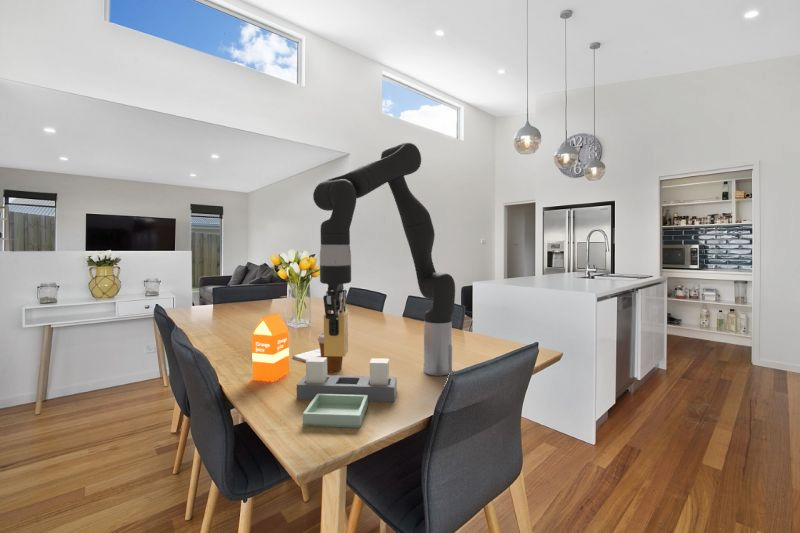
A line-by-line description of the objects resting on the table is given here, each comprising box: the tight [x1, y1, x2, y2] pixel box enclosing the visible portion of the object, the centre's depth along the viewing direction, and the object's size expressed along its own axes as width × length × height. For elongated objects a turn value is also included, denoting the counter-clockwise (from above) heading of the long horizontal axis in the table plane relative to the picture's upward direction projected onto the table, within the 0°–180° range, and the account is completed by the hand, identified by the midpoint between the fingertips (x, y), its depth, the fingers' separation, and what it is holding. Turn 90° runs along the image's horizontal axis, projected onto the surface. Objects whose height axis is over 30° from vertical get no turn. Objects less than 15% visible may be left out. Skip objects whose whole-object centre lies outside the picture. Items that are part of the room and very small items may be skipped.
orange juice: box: [251, 312, 290, 383], centre depth 119 cm, size 8×9×20 cm
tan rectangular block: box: [323, 311, 349, 358], centre depth 90 cm, size 5×4×10 cm
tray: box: [302, 394, 369, 429], centre depth 92 cm, size 14×12×3 cm
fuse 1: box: [305, 357, 328, 384], centre depth 105 cm, size 5×4×10 cm
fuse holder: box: [296, 374, 398, 403], centre depth 104 cm, size 27×8×4 cm, turn 86°
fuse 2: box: [369, 357, 390, 385], centre depth 104 cm, size 5×4×10 cm
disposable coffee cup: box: [317, 332, 344, 373], centre depth 126 cm, size 10×10×12 cm
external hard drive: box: [292, 348, 321, 363], centre depth 141 cm, size 2×8×12 cm
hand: (336, 332), depth 90 cm, fingers closed on tan rectangular block, 4 cm apart
